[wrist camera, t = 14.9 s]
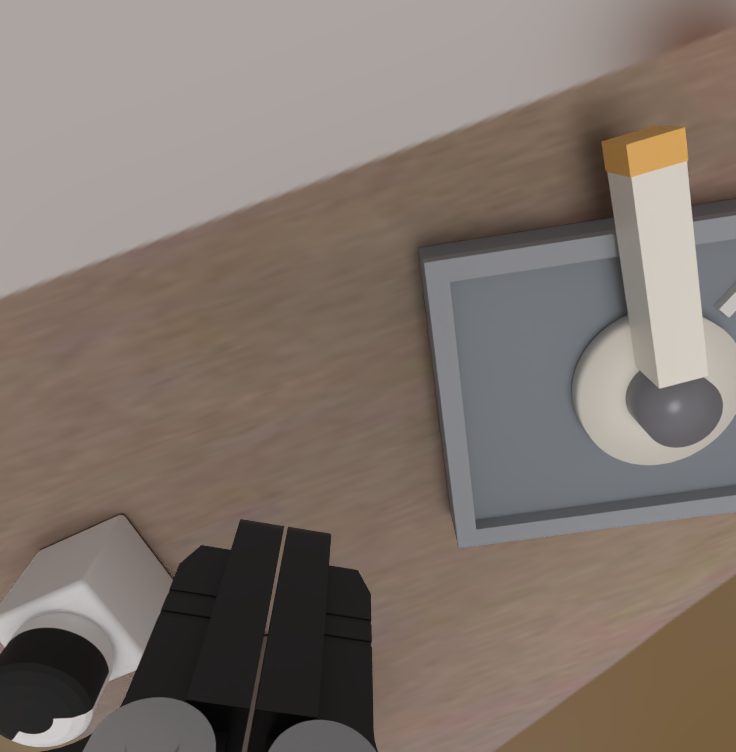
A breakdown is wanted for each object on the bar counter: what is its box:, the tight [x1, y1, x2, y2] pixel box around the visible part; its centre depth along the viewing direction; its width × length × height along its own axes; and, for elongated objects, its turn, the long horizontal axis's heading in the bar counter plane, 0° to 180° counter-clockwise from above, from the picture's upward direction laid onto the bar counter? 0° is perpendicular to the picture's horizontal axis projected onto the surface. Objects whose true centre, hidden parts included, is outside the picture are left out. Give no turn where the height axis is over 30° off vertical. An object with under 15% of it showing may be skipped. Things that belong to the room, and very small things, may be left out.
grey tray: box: [418, 199, 736, 548], centre depth 38 cm, size 18×24×4 cm
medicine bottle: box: [0, 515, 173, 747], centre depth 40 cm, size 7×7×12 cm
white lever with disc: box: [572, 126, 736, 465], centre depth 33 cm, size 18×9×4 cm, turn 16°
